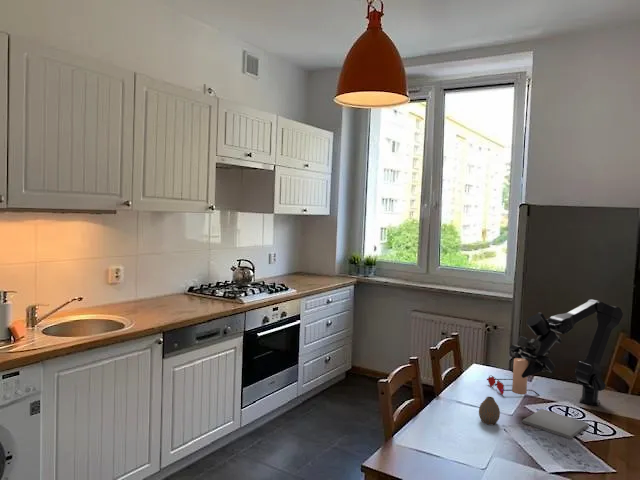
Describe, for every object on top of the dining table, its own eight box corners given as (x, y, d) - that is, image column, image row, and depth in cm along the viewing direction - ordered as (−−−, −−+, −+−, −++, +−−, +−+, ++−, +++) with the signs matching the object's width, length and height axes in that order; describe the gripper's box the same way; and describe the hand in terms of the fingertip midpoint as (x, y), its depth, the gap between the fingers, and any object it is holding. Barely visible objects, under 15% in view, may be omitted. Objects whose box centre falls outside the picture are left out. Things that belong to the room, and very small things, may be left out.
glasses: (485, 384, 218) (486, 373, 217) (522, 384, 220) (523, 373, 219) (501, 396, 204) (502, 384, 203) (540, 396, 206) (540, 384, 206)
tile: (541, 411, 189) (541, 408, 189) (588, 425, 177) (588, 423, 177) (522, 422, 178) (522, 419, 178) (570, 438, 166) (570, 435, 166)
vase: (500, 427, 173) (502, 402, 172) (479, 425, 174) (480, 400, 174) (497, 419, 180) (499, 395, 179) (477, 417, 181) (478, 393, 180)
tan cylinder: (513, 388, 192) (515, 357, 192) (527, 391, 190) (529, 359, 189) (510, 392, 188) (512, 360, 188) (524, 395, 186) (526, 362, 185)
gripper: (514, 323, 198) (489, 353, 195) (550, 335, 180) (523, 368, 177) (529, 342, 201) (505, 372, 198) (566, 356, 183) (540, 388, 180)
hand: (517, 374), depth 188 cm, fingers closed on tan cylinder, 5 cm apart
